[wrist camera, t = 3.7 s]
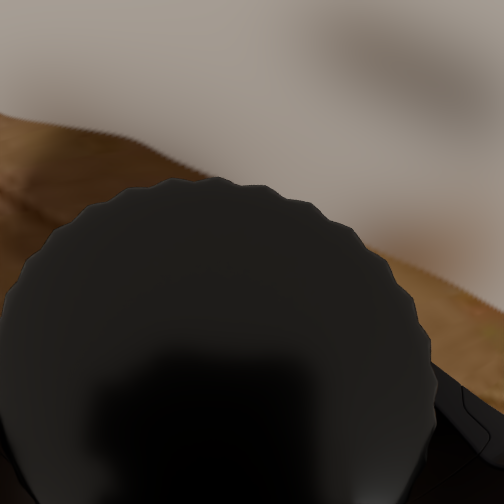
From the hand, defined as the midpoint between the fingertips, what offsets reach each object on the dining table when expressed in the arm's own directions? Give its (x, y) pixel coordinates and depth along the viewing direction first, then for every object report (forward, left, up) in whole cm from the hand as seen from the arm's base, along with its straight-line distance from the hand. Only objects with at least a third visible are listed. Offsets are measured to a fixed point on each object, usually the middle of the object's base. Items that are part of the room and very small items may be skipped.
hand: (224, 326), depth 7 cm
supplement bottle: (-1, -1, -7) cm, 7 cm away
